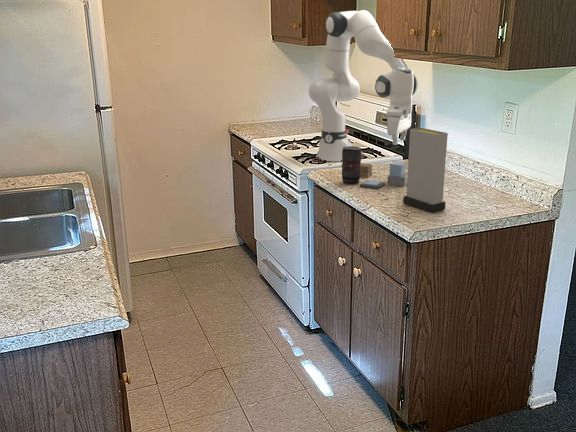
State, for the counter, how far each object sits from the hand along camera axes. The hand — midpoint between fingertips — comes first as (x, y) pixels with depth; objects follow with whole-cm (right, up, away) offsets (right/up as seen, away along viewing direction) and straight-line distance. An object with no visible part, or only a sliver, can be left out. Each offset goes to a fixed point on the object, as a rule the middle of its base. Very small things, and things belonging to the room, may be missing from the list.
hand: (398, 142), depth 245 cm
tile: (-11, -18, +2) cm, 21 cm away
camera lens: (-19, -16, +8) cm, 26 cm away
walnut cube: (-12, -13, +18) cm, 25 cm away
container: (+4, -27, -25) cm, 37 cm away
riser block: (0, -17, +5) cm, 18 cm away
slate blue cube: (0, -13, +4) cm, 14 cm away
